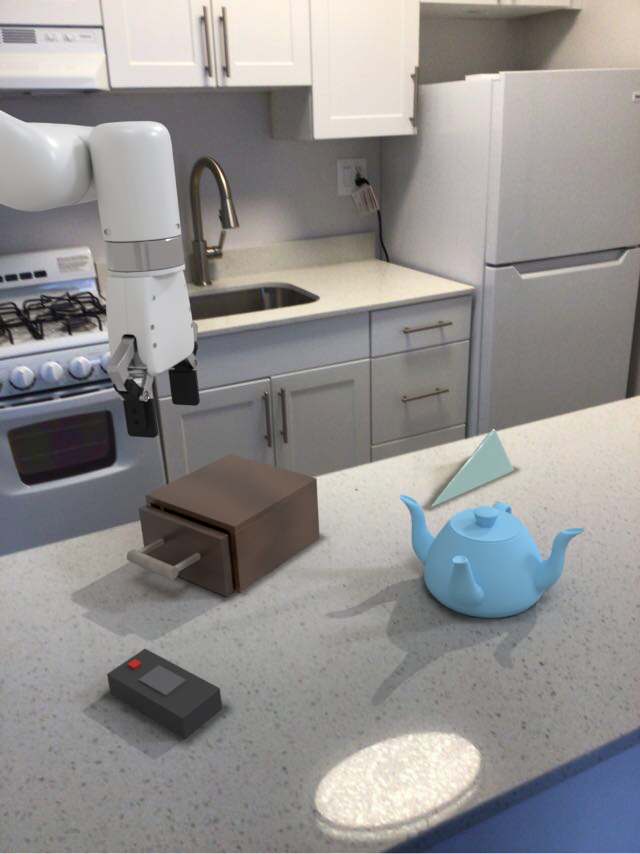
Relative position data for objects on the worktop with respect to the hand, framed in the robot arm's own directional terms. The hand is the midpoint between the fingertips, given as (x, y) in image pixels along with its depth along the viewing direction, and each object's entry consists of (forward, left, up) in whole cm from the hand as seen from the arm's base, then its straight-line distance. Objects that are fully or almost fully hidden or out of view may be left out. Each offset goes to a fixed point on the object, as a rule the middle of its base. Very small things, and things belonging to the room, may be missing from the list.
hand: (166, 419), depth 81 cm
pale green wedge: (+2, +43, -21) cm, 48 cm away
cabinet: (-3, +8, -21) cm, 22 cm away
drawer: (-1, +4, -20) cm, 20 cm away
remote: (+18, -10, -21) cm, 29 cm away
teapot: (+22, +25, -21) cm, 39 cm away
